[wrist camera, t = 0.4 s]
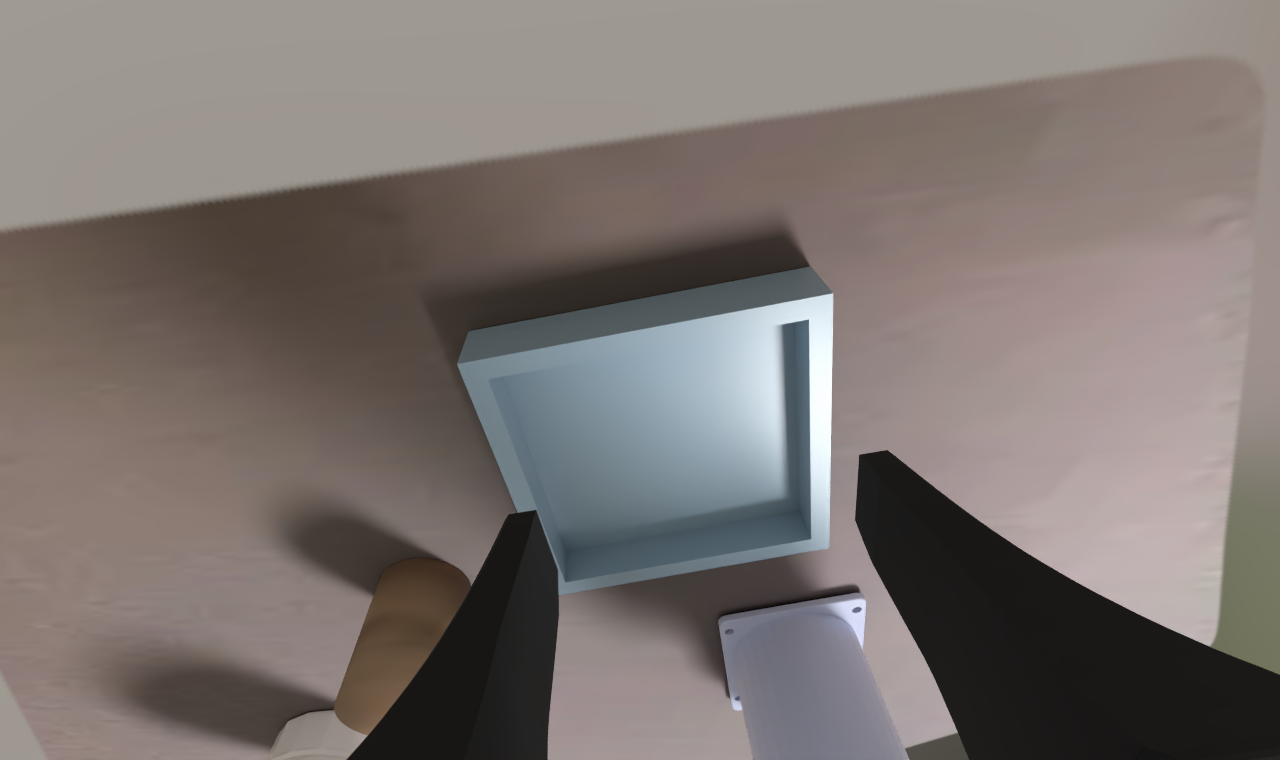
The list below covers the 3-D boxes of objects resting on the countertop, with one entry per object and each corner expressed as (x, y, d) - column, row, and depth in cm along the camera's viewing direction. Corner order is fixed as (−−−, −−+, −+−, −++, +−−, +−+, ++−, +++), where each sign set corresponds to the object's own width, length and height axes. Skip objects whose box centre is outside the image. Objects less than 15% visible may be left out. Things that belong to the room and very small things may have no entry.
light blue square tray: (812, 510, 28) (829, 547, 26) (554, 556, 28) (552, 596, 26) (810, 266, 21) (833, 293, 19) (468, 331, 21) (456, 364, 19)
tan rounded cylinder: (483, 607, 30) (461, 729, 25) (400, 621, 30) (362, 745, 25) (453, 551, 28) (423, 673, 22) (363, 567, 28) (313, 692, 23)
